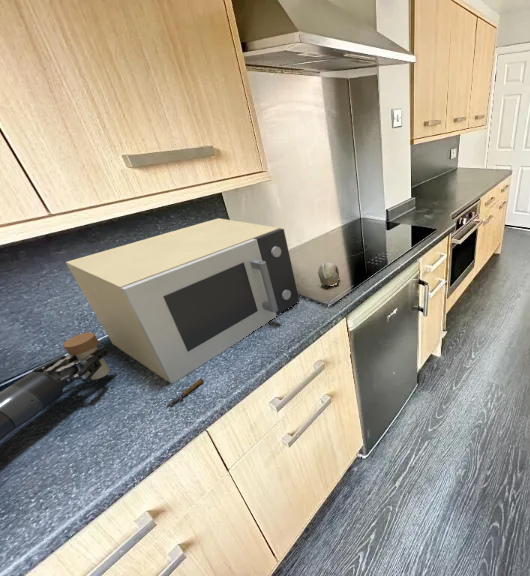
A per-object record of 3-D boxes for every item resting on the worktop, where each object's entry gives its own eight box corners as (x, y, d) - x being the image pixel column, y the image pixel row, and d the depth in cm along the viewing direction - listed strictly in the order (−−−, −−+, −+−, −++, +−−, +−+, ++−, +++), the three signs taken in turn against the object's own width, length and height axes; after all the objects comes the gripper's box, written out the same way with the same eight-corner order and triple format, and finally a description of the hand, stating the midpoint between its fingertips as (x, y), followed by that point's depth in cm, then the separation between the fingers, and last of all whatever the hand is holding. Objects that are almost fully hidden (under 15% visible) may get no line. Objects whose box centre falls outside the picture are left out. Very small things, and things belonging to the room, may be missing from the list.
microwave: (301, 303, 110) (285, 228, 98) (173, 385, 78) (125, 289, 66) (238, 283, 128) (218, 218, 115) (112, 344, 96) (65, 262, 83)
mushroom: (80, 384, 78) (56, 348, 73) (95, 368, 83) (73, 334, 78) (106, 379, 78) (84, 344, 73) (119, 364, 83) (99, 330, 78)
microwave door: (287, 321, 101) (268, 241, 88) (182, 391, 76) (135, 294, 63) (273, 316, 104) (253, 238, 91) (168, 381, 79) (120, 287, 67)
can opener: (201, 380, 79) (200, 377, 78) (207, 384, 78) (205, 380, 77) (164, 406, 72) (162, 403, 71) (169, 410, 71) (167, 406, 70)
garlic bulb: (328, 295, 120) (319, 276, 113) (317, 284, 125) (308, 266, 118) (348, 281, 123) (340, 262, 116) (336, 271, 128) (328, 253, 121)
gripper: (41, 389, 62) (117, 336, 78) (-17, 385, 65) (68, 335, 80) (61, 415, 66) (130, 360, 81) (6, 411, 68) (83, 358, 83)
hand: (99, 348), depth 80 cm, fingers closed on mushroom, 4 cm apart
